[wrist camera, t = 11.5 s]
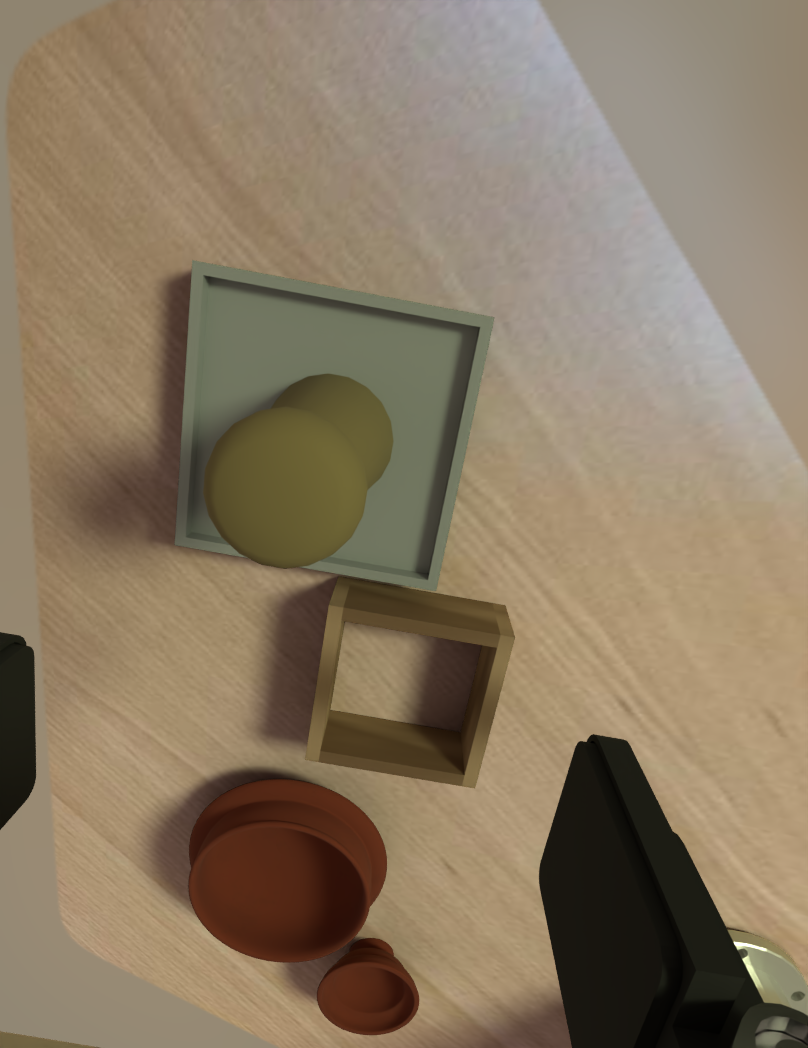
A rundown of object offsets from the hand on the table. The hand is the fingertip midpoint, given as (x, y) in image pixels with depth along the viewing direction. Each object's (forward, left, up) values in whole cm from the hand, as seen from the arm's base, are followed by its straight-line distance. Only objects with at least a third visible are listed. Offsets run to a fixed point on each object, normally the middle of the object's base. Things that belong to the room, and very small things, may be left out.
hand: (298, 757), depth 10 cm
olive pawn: (+2, +3, -20) cm, 20 cm away
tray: (+2, +3, -21) cm, 21 cm away
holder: (-10, -3, -21) cm, 23 cm away
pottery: (-27, -1, -21) cm, 34 cm away
